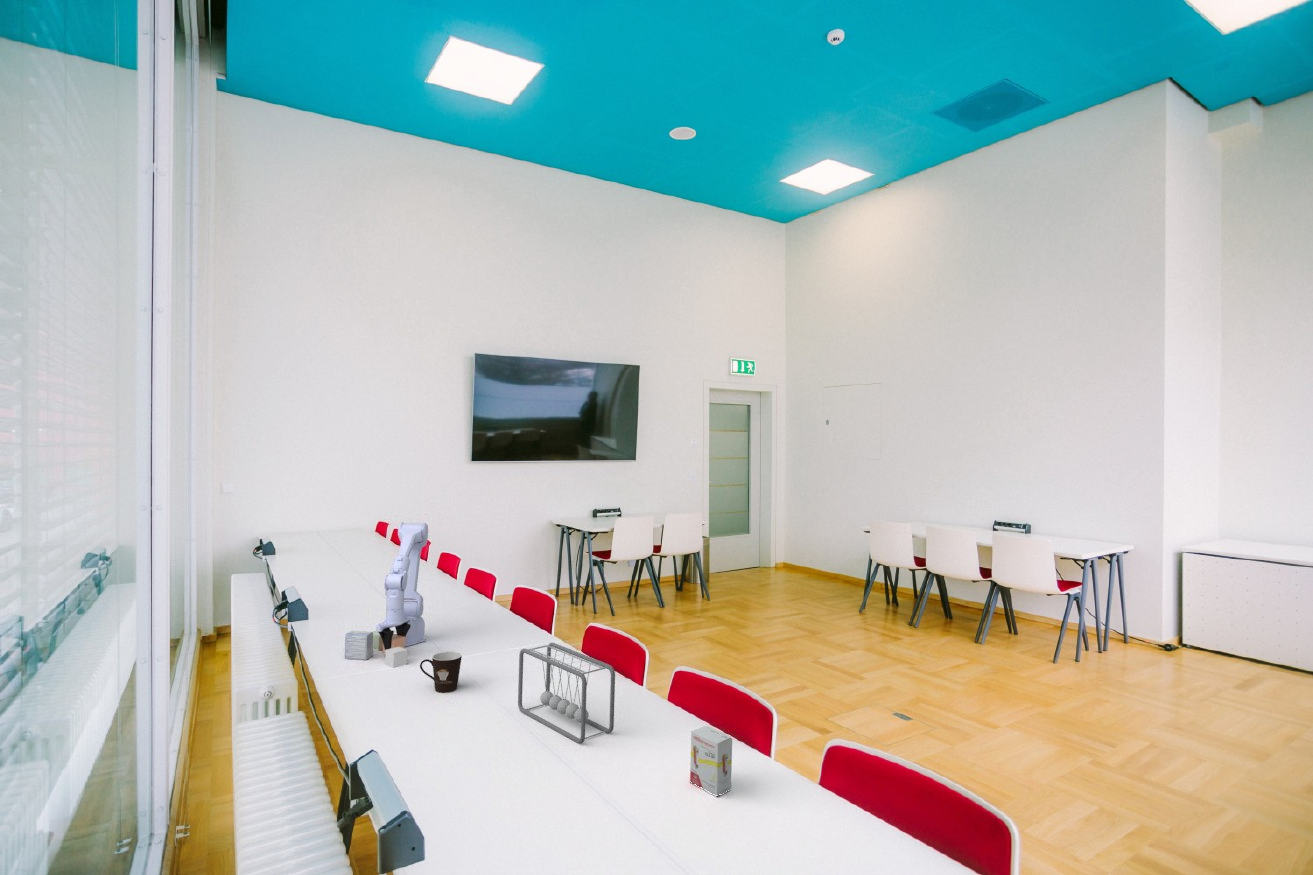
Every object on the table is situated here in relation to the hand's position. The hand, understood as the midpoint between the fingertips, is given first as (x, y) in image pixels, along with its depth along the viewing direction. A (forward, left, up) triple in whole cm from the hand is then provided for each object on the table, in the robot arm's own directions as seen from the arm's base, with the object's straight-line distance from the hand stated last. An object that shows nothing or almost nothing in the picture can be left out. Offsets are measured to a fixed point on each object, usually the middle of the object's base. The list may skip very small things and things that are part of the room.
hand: (393, 647), depth 235 cm
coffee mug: (+13, +36, -3) cm, 39 cm away
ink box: (+26, +130, -3) cm, 133 cm away
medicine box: (+7, -9, -3) cm, 12 cm away
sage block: (-5, -14, -3) cm, 15 cm away
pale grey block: (+5, +7, -3) cm, 9 cm away
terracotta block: (0, 0, -2) cm, 2 cm away
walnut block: (-5, -8, -3) cm, 10 cm away
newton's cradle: (+14, +82, -4) cm, 83 cm away
